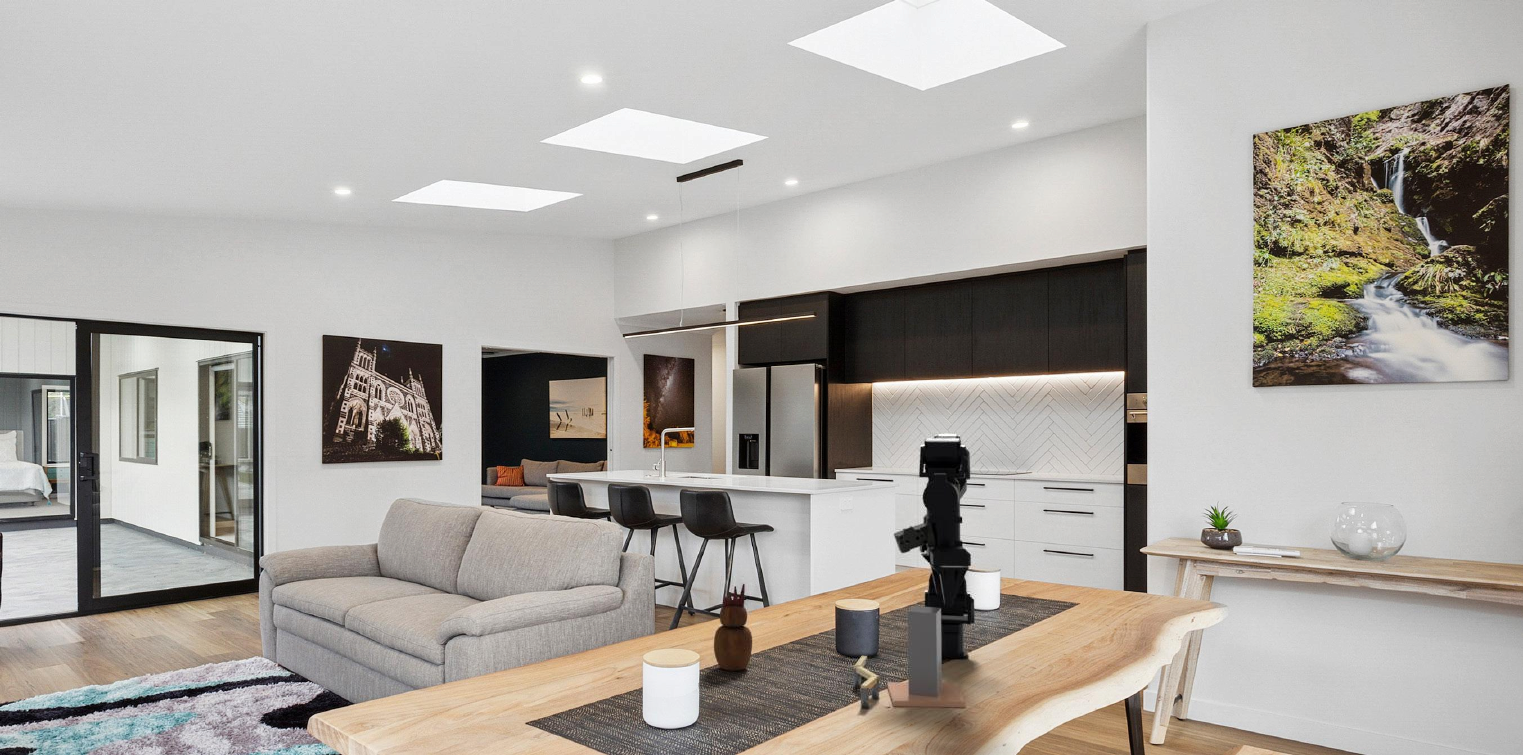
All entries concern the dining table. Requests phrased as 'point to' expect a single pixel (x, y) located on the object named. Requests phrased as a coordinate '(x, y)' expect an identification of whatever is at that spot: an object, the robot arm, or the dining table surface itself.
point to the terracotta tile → (945, 698)
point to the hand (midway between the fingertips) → (944, 600)
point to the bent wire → (871, 683)
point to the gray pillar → (924, 651)
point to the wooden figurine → (733, 634)
